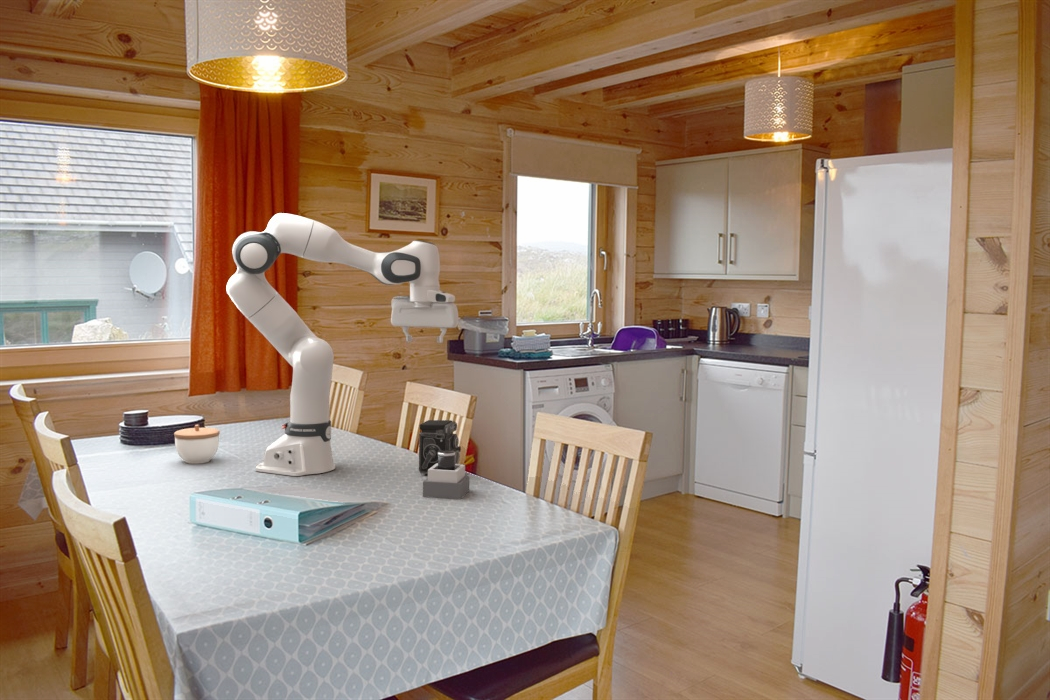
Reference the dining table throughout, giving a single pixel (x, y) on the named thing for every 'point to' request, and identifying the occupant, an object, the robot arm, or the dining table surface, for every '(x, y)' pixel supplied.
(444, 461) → the lens
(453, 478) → the mount block
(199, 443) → the lidded bowl
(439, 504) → the dining table surface
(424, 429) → the camera
